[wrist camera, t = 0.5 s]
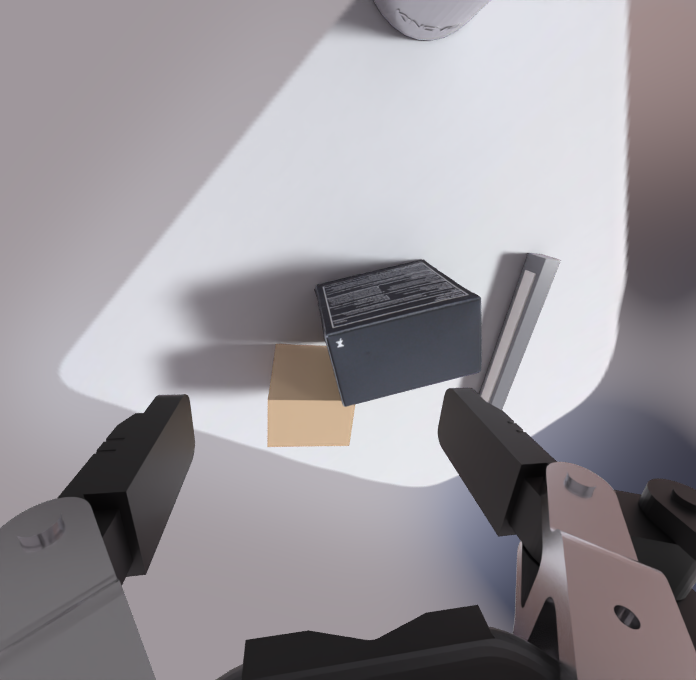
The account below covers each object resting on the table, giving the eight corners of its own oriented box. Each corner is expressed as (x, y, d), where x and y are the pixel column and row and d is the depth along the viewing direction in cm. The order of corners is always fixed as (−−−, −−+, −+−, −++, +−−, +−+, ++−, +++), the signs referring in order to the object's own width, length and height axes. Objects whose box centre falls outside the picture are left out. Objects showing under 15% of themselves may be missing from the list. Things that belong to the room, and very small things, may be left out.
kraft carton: (275, 343, 31) (267, 400, 23) (341, 346, 32) (355, 400, 24) (275, 383, 33) (267, 448, 25) (337, 385, 34) (348, 447, 26)
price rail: (526, 252, 30) (544, 258, 28) (542, 254, 31) (561, 260, 29) (464, 432, 40) (474, 447, 38) (477, 432, 40) (487, 446, 38)
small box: (329, 345, 32) (341, 413, 23) (313, 284, 29) (319, 333, 20) (431, 320, 32) (484, 377, 23) (425, 257, 29) (483, 292, 20)
